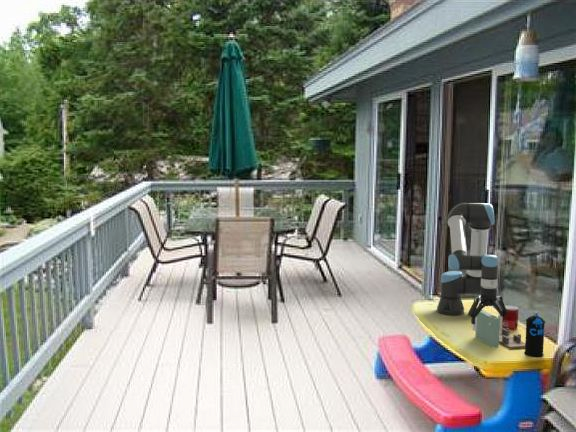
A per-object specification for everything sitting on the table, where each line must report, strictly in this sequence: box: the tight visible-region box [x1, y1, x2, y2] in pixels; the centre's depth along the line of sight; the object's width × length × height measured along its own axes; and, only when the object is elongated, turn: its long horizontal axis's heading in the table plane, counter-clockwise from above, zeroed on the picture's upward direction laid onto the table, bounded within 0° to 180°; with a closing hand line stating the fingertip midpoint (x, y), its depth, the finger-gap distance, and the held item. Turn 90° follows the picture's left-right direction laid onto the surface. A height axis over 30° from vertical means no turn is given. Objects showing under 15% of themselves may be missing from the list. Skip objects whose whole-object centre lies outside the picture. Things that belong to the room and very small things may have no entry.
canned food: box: [502, 304, 519, 331], centre depth 309 cm, size 8×8×11 cm
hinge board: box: [499, 327, 525, 350], centre depth 289 cm, size 24×10×4 cm, turn 12°
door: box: [475, 309, 500, 348], centre depth 286 cm, size 16×4×14 cm, turn 12°
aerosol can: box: [523, 311, 546, 358], centre depth 269 cm, size 8×8×20 cm
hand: (487, 329), depth 286 cm, fingers open, 13 cm apart
